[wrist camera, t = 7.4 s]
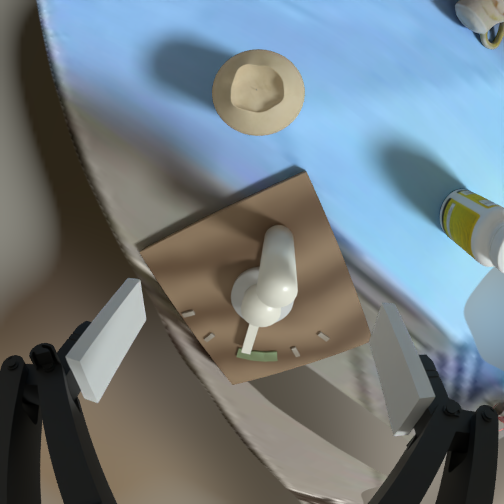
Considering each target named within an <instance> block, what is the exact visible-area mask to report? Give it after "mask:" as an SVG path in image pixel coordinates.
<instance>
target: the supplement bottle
mask: <svg viewBox="0 0 504 504" xmlns="http://www.w3.org/2000/svg"><path fill="white" fill-rule="evenodd" d="M440 224H441V227H442V229H443V231H444V233H445V234H446V235H447V236H448V237H449V238H450V239H451V240H453V241H454V242H455V243H456V244H458V245H459V246H460V247H461V248H462V249H464V250H465V251H466V252H467V253H468V254H469V255H471V256H472V257H473V258H474V259H475V260H476V261H477V262H479V263H480V264H482V265H484V266H486V267H494V266H495V267H496V268H497V269H499V270H500V271H501V272H502V273H504V208H503V207H501V206H499V205H497V204H495V203H494V202H492V201H490V200H488V199H486V198H484V197H482V196H480V195H478V194H475V193H474V192H471V191H469V190H466V189H458V190H455V191H453V192H452V193H450V194H449V195H448V196H447V198H446V199H445V200H444V202H443V204H442V207H441V210H440Z"/></svg>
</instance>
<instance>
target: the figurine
mask: <svg viewBox="0 0 504 504" xmlns="http://www.w3.org/2000/svg"><path fill="white" fill-rule="evenodd" d="M497 404H498V403H497ZM497 404H496V405H497ZM496 405H495V406H496ZM495 406H494V407H495ZM499 418H500V419H499ZM498 419H499V420H500V421H501V422H503V423H504V417H498ZM501 430H503V429H501ZM499 431H500V430H499Z"/></svg>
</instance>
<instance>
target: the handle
mask: <svg viewBox="0 0 504 504" xmlns="http://www.w3.org/2000/svg"><path fill="white" fill-rule="evenodd" d="M297 292H298V288H297V275H296V262H295V250H294V239H293V234H292V232H291V230H290V229H288V228H287V227H285V226H283V225H275V226H272V227H271V228H269V229H268V230H267V231H266V233H265V237H264V243H263V249H262V256H261V262H260V267H254V268H250V269H248V270H246V271H244V272H243V273H241V274H240V275H239V276H238V277H237V279H236V280H235V282H234V285H233V288H232V292H231V302H232V305H233V308H234V309H235V311H236V312H237V313H238V315H240V316H241V317H242V318H243V319H244V320H245V321H246V322H248V323H249V326H248V329H247V333H246V336H245V340H244V343H243V346H242V351H241V353H246V354H250V353H251V350H252V347H253V344H254V341H255V338H256V334H257V331H258V328H259V327H267V326H270V325H272V324H274V323H275V322H278V321H280V320H282V319H283V318H284V317H286V316H287V315H288V313H289V312H290V311H291V309H292V307H293V303H294V300H295V298H296V296H297Z"/></svg>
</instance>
